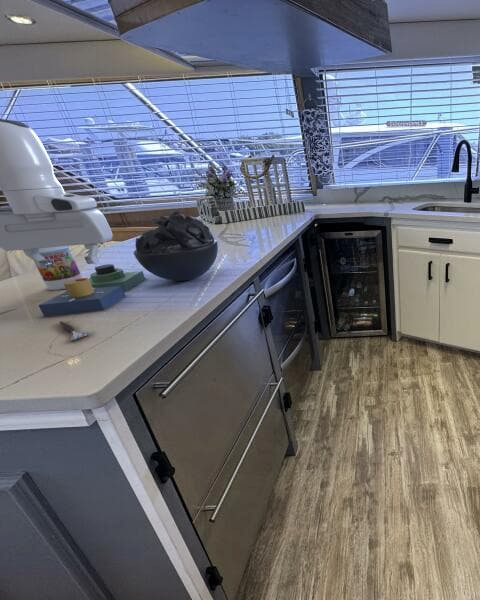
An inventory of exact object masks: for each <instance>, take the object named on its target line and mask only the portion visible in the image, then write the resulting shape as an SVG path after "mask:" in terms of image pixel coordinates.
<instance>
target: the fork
mask: <svg viewBox="0 0 480 600" xmlns="http://www.w3.org/2000/svg"><path fill="white" fill-rule="evenodd" d="M59 323H60V325H61V326H62V328H63V330H65V331H67V332H68V333H71V334H72V336H71V337H70V341H77V340H78V339H81V338H84V337H87V336H89V333H90V332H89V331H87V332H86V333H84V332H82V333H81V332H76V330H75V329H74V328H73V326H72V325H70V324H69V323H65V322H63V321H61V320H60V321H59Z"/></svg>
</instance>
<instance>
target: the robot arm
mask: <svg viewBox="0 0 480 600" xmlns="http://www.w3.org/2000/svg"><path fill="white" fill-rule="evenodd" d="M54 172H55V171H54V166H53V163H52V161H51V159H50V156H49V155H48V152H47V150H46V148H45V146H44V145H43V142H42V141H41V140H40V138H39V137H38V135H37V133H36V132H35V131H34V129H32V127H30V126H29V125H27V124H25V123H24V122H21V121H17V120H12V119H4V118H0V190H1V191H2V193H3V195H4V197H5V199H6V201H7V203H8V205H3V206H2V205H1V206H0V249H2V250H3V251H5V252H12V251H23V253H24V255H25V256H27V257H28V258H29V259H31V261H33V260H34V261H36V263H37V265H38V267H39V268H49V267H52V263H50V262H51V261H50V259H45V258H44V257H42V256H41V255H40V254H39V253H38V252H40V250H39V248H49V247H61V246H68V247H73V246H82V245H83V246H84V248H85V250H88V253H87V255H86V256H84V257H83V259H84V260H85V262H86V264H87V265H92V264H93V265H94V264H97V263H99V261H100V260H99V258H98V251H99V244H103V243H108V242H111V240H112V239H113V237H114V234H113V231H112V229H111V227H110V224H109V223H108V220H107V219H106V217H105V214H103V212H101V210H100V209H97V207H98V204H97V203H98V202H97V201H96V199H95V198H93V197H90V196H84V195H79V194H75V193H70V192H65V189H64V188H63V186H62V184H61V182H59V180H58V179H57V177H56V175H55V173H54ZM34 261H33V262H34Z"/></svg>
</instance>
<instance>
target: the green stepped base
mask: <svg viewBox="0 0 480 600" xmlns="http://www.w3.org/2000/svg"><path fill="white" fill-rule="evenodd" d="M115 270H116V272H113V273H109V274H103V275H97V272H96V271H95V272H93V273H90V275H89V277H88V279H89V281H90V283H91V285H92V287H93V288H103V287H113V286H122V288H123V291H124V292H127V291H129V290H131V289H133V288H134V287H136V286H137V285H138V284H140V283H142V282H143V281H145V280H146V277H145V273H144V272H143V270H136V271H135V270H134V271H126V272H125V271H124V270H123V268H118V267H117V268H116V267H115Z"/></svg>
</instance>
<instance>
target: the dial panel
mask: <svg viewBox="0 0 480 600" xmlns="http://www.w3.org/2000/svg"><path fill="white" fill-rule="evenodd" d="M93 290H94V293H92V294H90V295H87V296H84V297H78V298H70V296H69V294H68V292H67V290H66V291H64V292H62V293H60V294H58V295H56V296H54V297H52V298H49V299H47V300H46V301H44V302H41V303H39V304H38V307H39V309H40V311H41V313H42V314H43V317H45V318H46V317H54V316H64V315H74V314H81V313H84V314H85V313H93V312H100V311H105V310H107V309H109V308H111V306H113V305H114V304H116V303H119V301H121V300H123V299H124V298H126V294H125V291H123V288H122V286H113V287H103V288H93Z"/></svg>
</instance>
